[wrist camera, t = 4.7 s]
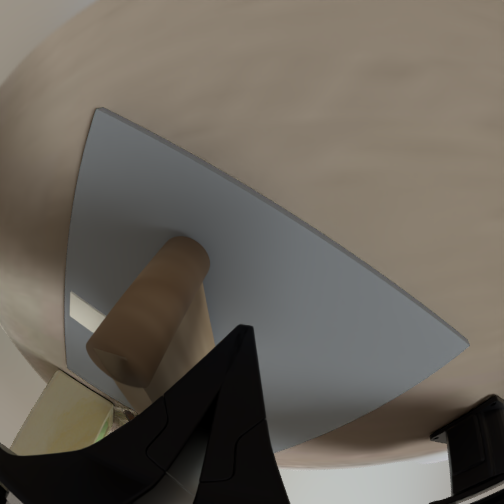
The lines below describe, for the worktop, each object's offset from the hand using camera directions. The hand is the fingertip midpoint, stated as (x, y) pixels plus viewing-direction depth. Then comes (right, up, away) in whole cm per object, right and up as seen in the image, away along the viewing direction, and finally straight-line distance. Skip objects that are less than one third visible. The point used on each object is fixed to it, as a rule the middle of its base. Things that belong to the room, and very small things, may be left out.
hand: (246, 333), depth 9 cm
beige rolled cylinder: (-2, -1, +3) cm, 4 cm away
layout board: (-3, -5, +6) cm, 8 cm away
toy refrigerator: (-17, -13, +15) cm, 26 cm away
